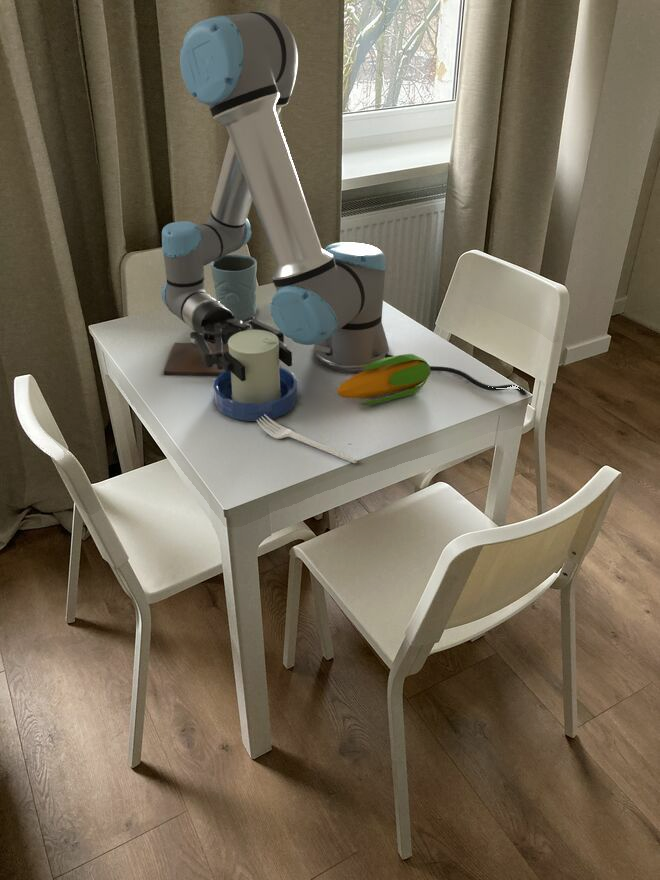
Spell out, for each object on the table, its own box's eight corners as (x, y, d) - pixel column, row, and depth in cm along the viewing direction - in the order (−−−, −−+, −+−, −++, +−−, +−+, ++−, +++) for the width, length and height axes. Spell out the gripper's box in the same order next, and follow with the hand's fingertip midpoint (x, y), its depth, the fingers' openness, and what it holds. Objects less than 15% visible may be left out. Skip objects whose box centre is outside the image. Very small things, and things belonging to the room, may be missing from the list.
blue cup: (231, 326, 164) (228, 275, 157) (205, 311, 170) (201, 261, 163) (268, 313, 170) (266, 263, 163) (241, 299, 176) (238, 250, 169)
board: (260, 347, 156) (260, 344, 156) (255, 376, 147) (255, 373, 146) (175, 345, 157) (174, 342, 156) (164, 374, 147) (163, 371, 146)
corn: (441, 356, 138) (348, 381, 130) (439, 392, 142) (348, 419, 134) (418, 342, 144) (328, 365, 136) (417, 377, 148) (328, 402, 140)
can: (279, 410, 135) (277, 351, 129) (228, 409, 136) (223, 350, 129) (282, 384, 143) (281, 327, 136) (234, 383, 143) (230, 326, 136)
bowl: (298, 379, 146) (298, 363, 144) (294, 423, 134) (294, 406, 131) (221, 378, 146) (219, 362, 144) (209, 421, 134) (208, 404, 132)
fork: (350, 469, 123) (351, 460, 122) (255, 429, 132) (254, 421, 131) (361, 459, 125) (361, 450, 124) (266, 421, 134) (266, 412, 133)
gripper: (257, 322, 154) (318, 368, 138) (160, 350, 144) (213, 402, 128) (256, 288, 149) (318, 332, 134) (155, 314, 139) (210, 364, 124)
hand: (267, 366), depth 131 cm, fingers closed on can, 9 cm apart
